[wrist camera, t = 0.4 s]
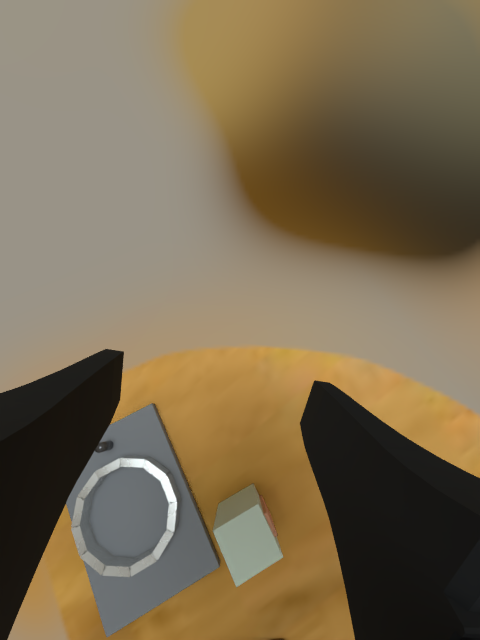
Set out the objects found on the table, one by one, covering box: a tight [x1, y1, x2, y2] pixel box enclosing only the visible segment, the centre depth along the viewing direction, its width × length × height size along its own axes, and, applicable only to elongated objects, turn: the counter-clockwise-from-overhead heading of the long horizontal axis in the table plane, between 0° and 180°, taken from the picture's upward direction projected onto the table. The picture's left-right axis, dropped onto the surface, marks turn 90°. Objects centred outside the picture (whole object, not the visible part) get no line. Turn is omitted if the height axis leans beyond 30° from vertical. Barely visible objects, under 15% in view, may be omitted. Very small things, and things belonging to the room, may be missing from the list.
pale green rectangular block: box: [213, 484, 283, 587], centre depth 29 cm, size 4×5×8 cm
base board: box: [66, 404, 220, 637], centre depth 32 cm, size 18×12×1 cm, turn 27°
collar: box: [71, 441, 181, 577], centre depth 30 cm, size 13×10×2 cm
